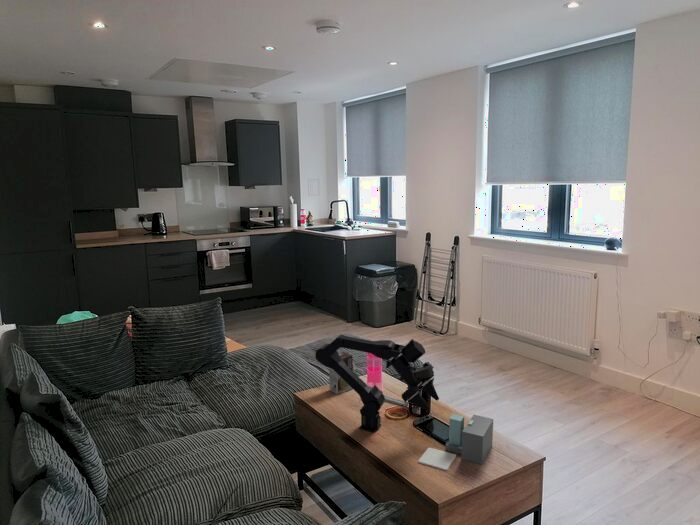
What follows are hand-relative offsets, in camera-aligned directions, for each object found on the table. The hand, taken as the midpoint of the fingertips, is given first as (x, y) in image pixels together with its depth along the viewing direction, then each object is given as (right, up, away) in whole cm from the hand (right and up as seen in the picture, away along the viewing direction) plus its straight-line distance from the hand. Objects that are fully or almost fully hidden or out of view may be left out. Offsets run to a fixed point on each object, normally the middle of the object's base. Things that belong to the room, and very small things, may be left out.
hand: (433, 404), depth 177 cm
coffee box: (-34, -7, +47) cm, 59 cm away
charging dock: (+11, -15, -4) cm, 19 cm away
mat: (0, -16, -10) cm, 18 cm away
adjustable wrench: (-14, -9, +36) cm, 39 cm away
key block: (+8, -14, -2) cm, 16 cm away
